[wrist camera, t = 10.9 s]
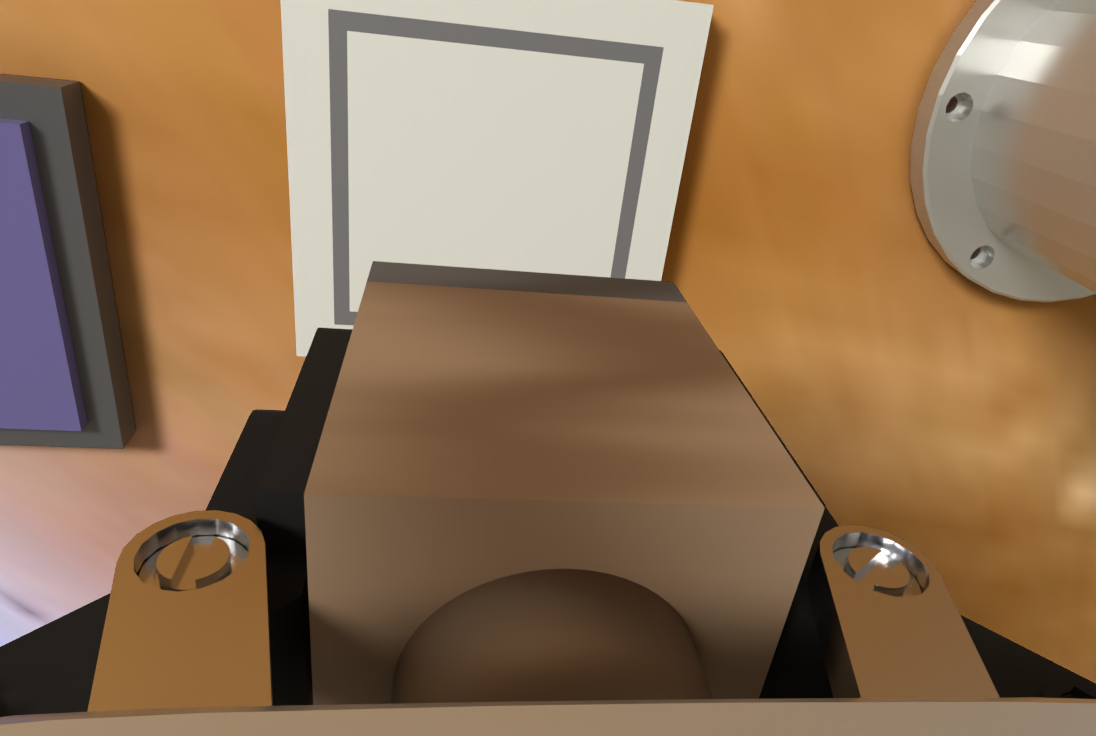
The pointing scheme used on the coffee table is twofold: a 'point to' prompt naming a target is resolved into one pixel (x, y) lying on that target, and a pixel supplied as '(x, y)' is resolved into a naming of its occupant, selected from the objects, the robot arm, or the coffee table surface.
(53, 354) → the ink pad
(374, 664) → the stamp
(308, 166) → the board
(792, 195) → the coffee table surface
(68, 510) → the coffee table surface
